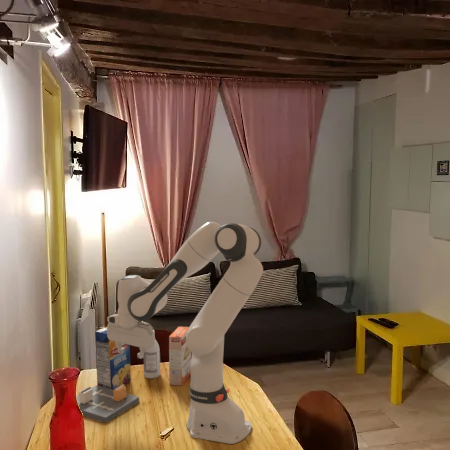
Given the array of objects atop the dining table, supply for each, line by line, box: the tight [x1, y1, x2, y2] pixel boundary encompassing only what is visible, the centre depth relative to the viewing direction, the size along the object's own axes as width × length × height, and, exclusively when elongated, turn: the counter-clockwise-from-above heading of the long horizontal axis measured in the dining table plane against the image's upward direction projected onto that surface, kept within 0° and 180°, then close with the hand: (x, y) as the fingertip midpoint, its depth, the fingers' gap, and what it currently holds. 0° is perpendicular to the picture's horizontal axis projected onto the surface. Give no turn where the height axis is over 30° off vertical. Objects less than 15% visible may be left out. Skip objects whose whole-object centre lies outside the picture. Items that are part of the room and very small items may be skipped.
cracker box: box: [168, 326, 192, 387], centre depth 206 cm, size 14×6×21 cm, turn 168°
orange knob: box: [113, 385, 127, 401], centre depth 184 cm, size 2×4×5 cm, turn 150°
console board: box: [76, 384, 140, 424], centre depth 184 cm, size 22×18×2 cm
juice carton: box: [94, 326, 132, 390], centre depth 200 cm, size 12×8×24 cm, turn 150°
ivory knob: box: [78, 386, 93, 404], centre depth 182 cm, size 2×4×5 cm, turn 150°
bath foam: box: [143, 329, 161, 379], centre depth 210 cm, size 7×7×20 cm
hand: (130, 355), depth 179 cm, fingers open, 8 cm apart
